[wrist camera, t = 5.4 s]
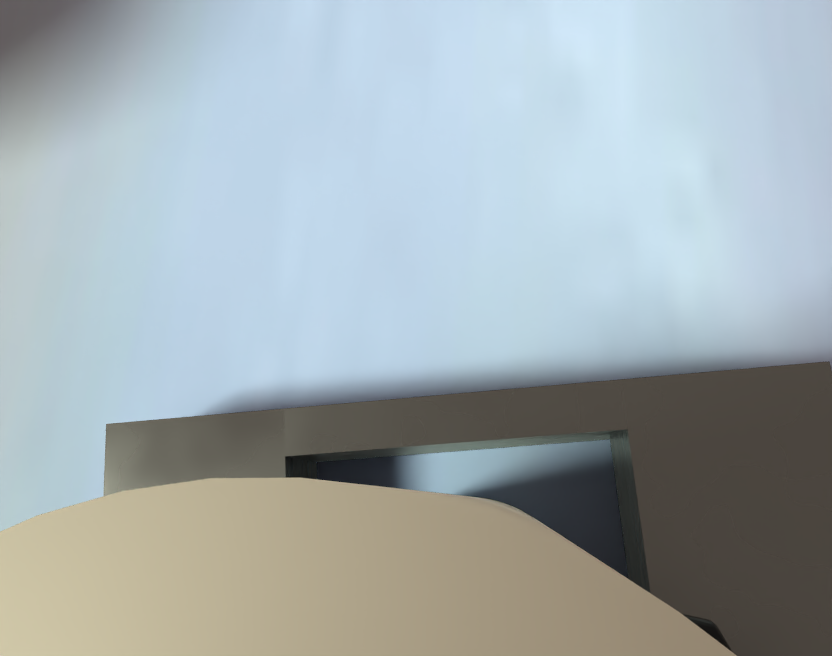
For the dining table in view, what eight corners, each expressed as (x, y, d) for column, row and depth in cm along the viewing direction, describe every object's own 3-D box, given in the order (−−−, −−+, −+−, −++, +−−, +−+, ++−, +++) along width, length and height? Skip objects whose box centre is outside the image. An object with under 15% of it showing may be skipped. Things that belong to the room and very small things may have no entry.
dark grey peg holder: (153, 841, 16) (87, 904, 13) (160, 433, 18) (106, 423, 15) (869, 827, 14) (944, 896, 12) (781, 381, 16) (829, 361, 14)
